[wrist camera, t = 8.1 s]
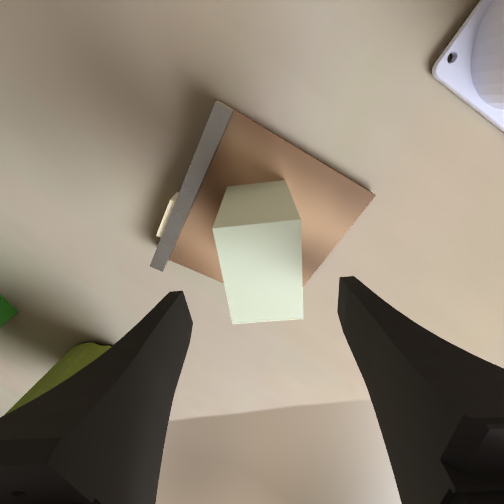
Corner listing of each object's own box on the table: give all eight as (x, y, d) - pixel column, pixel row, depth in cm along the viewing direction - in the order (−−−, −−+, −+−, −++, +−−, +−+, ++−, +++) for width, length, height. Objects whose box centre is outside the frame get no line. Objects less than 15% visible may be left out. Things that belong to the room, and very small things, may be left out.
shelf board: (215, 98, 16) (208, 96, 14) (371, 192, 19) (386, 203, 16) (155, 247, 21) (144, 264, 19) (284, 303, 24) (286, 323, 22)
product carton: (285, 179, 17) (300, 219, 11) (289, 255, 20) (303, 318, 14) (224, 186, 18) (207, 228, 12) (236, 260, 21) (229, 324, 15)
